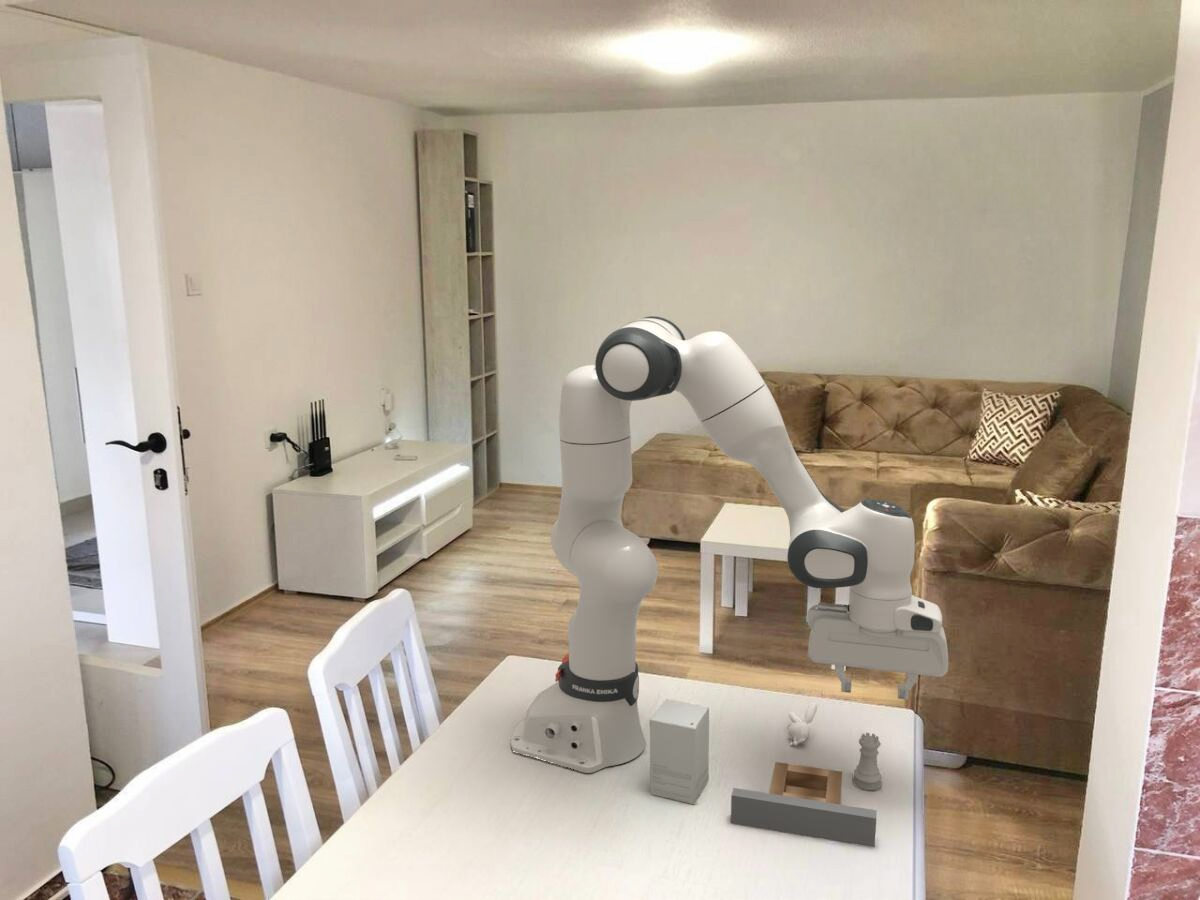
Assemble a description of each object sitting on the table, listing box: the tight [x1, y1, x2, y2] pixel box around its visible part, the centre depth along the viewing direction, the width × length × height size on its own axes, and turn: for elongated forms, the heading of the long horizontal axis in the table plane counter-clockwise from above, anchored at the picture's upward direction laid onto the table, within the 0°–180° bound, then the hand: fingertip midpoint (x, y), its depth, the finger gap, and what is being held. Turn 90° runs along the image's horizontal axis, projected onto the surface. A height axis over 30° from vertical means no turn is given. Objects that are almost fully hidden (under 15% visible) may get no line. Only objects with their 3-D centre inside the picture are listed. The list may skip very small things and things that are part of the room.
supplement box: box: [649, 698, 710, 805], centre depth 142 cm, size 7×7×13 cm
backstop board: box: [730, 787, 878, 848], centre depth 132 cm, size 20×2×4 cm, turn 73°
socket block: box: [768, 761, 843, 805], centre depth 138 cm, size 10×10×4 cm
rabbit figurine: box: [787, 701, 818, 746], centre depth 158 cm, size 6×4×8 cm
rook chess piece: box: [852, 732, 883, 792], centre depth 143 cm, size 4×4×8 cm
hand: (874, 694), depth 141 cm, fingers open, 7 cm apart
